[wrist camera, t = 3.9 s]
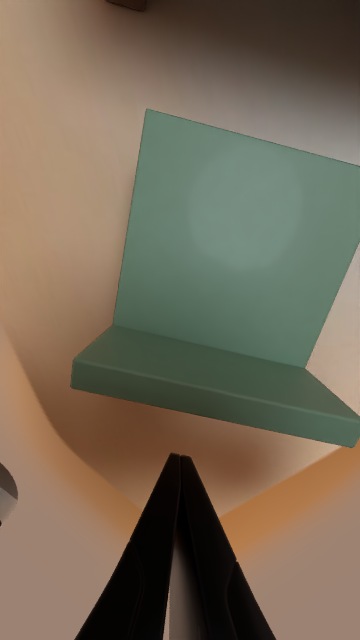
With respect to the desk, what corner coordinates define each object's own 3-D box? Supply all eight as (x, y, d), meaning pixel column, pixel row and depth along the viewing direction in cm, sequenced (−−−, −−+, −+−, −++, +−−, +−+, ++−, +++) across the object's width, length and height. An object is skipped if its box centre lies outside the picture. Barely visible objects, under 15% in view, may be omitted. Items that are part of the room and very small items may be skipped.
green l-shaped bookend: (131, 320, 11) (68, 389, 5) (159, 162, 9) (112, -26, 3) (264, 350, 11) (354, 450, 5) (318, 204, 9) (551, 103, 3)
